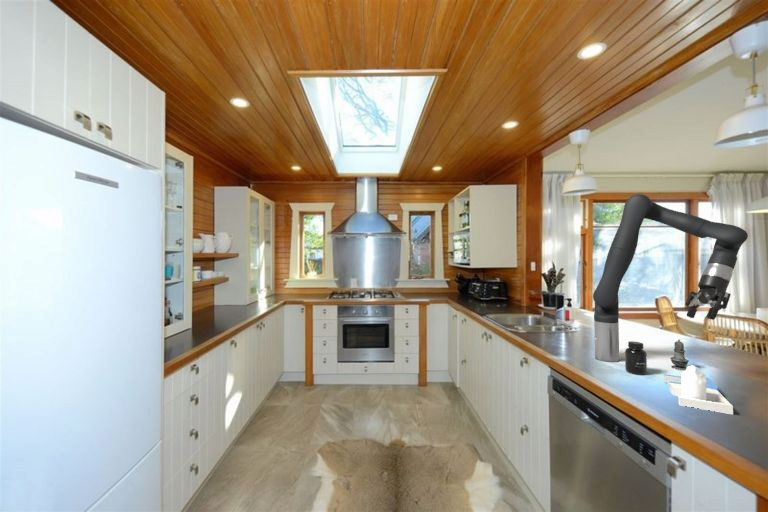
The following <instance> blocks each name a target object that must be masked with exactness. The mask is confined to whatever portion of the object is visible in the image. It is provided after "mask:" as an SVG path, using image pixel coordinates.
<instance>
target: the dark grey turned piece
mask: <svg viewBox="0 0 768 512" xmlns="http://www.w3.org/2000/svg"><path fill="white" fill-rule="evenodd" d="M684 345H685V343H684V342H682V341H681V339H678V340H677V341H675V342H674V349H673V351H674V352H673V353H674V355H673V357H670V358H669V359H670V361H671V363H672V364H673V365H671V368H672V369H674V368H675V370H680V371H685V370H686V369H687V366H688V364H689V363H690V360H689V359H687V358H686V357H685V352H686V350H685V348H684V347H685V346H684Z"/></svg>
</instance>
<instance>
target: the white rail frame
mask: <svg viewBox="0 0 768 512" xmlns="http://www.w3.org/2000/svg"><path fill="white" fill-rule="evenodd" d="M663 377H664V378H663V379H664V380H663V382H664V383H665V384H669V387H668V388H669V391H670V393H671V394H672V396H675V397H677V398H678V405H679V406H680V407H685V406H687V408H691V407H694V408H693V409H697V408H699V409H698V410H703V411H708V410H710V411H709V412H714V411H715V413H716V412H717V413H722V414H726V415H734V406H733V404H731V403H730V402H729V401H728V399H726V397H724V395H722V394H721V392H720V391H719V390H718V386H717V384H715V383H714V381H712V380H711V379H710V378H709V377H708V378H707V377H706V382H707V386H706V400H707V401H706V400H699V399H693V398H687V397H682V396H681V375H680V376H679V375H671V374H663ZM712 401H714V402H712Z"/></svg>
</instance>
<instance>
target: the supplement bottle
mask: <svg viewBox="0 0 768 512" xmlns="http://www.w3.org/2000/svg"><path fill="white" fill-rule="evenodd" d="M627 346H628V347H627V348H625V353H624V354H625V359H624V362H625V363H624V364H625V367H624V368H625V371H626V372H627V373H629V374H634V375H639V376H644V375H645V376H646V374H647V373H648V371H647V367H648V366H647V365H648V364H647V363H648V361H647V351H645V350H644V343H643V342H639V341H628V344H627Z"/></svg>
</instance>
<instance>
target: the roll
mask: <svg viewBox="0 0 768 512" xmlns="http://www.w3.org/2000/svg"><path fill="white" fill-rule="evenodd" d="M686 368H687V369H686V370H683V371H682V372H681V373H680V376H681V396H682V397H687V398H693V399H699V400H706V386H707V382H706V378H707V376H705V374H704V373H703V372H702V371H701V369H700V368H699V367H698V366H696V365H689V366H688V365H687V366H686Z"/></svg>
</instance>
